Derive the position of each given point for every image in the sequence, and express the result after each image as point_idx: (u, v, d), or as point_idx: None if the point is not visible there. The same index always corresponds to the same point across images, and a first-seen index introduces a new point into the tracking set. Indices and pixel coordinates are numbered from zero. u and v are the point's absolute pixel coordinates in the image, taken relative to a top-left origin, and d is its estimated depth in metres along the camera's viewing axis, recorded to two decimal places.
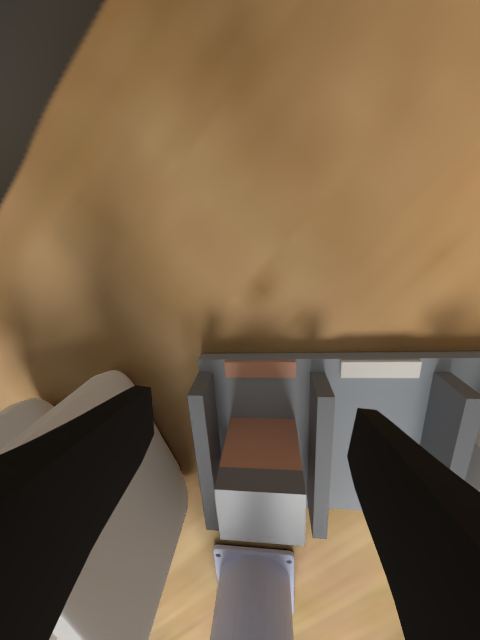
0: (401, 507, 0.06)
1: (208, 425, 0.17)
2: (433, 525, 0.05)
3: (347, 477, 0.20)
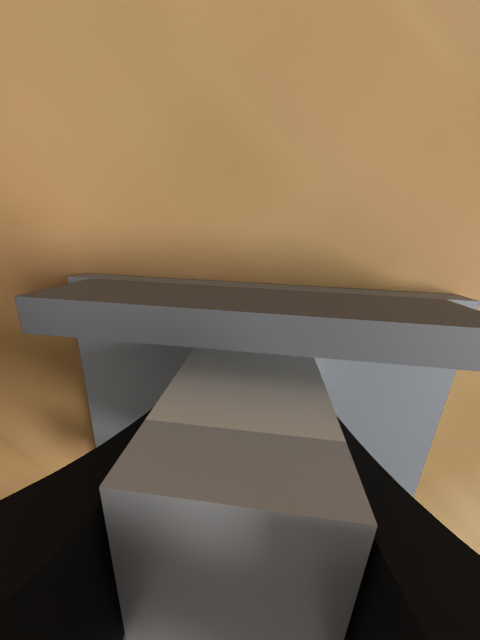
0: None
1: None
2: None
3: None
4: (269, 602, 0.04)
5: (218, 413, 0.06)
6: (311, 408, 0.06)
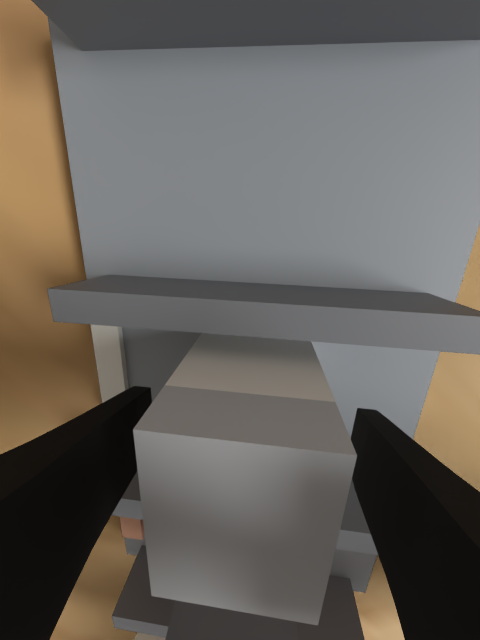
0: (401, 508, 0.06)
1: (170, 610, 0.13)
2: (433, 525, 0.05)
3: None
4: (270, 529, 0.05)
5: (226, 381, 0.06)
6: (306, 378, 0.07)
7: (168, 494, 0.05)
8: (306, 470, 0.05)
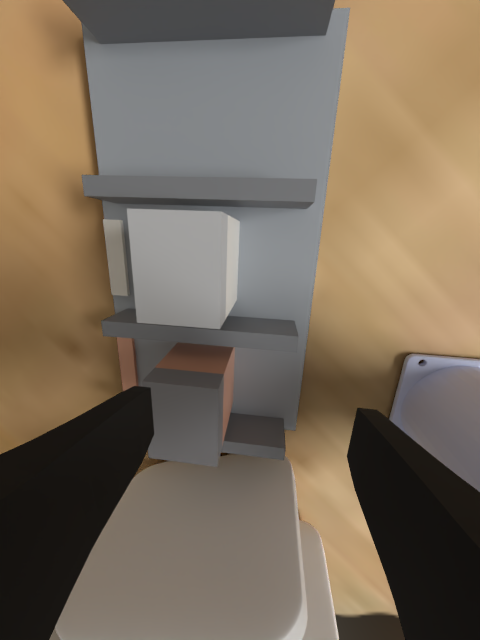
0: (401, 507, 0.06)
1: None
2: (433, 525, 0.05)
3: (259, 287, 0.17)
4: (190, 262, 0.11)
5: None
6: None
7: (143, 246, 0.11)
8: (202, 223, 0.10)
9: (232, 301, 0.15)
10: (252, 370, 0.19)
